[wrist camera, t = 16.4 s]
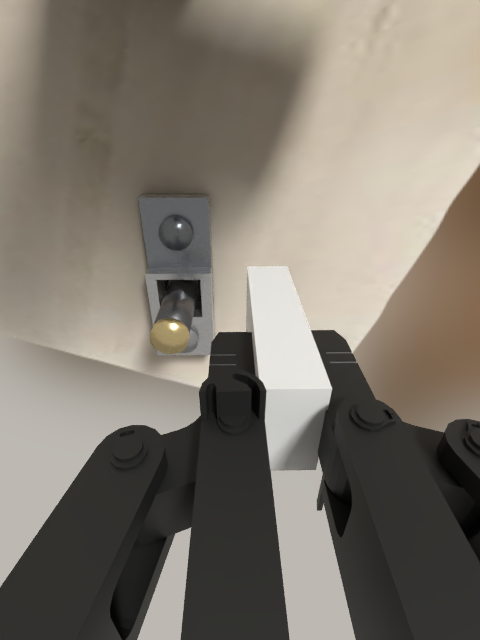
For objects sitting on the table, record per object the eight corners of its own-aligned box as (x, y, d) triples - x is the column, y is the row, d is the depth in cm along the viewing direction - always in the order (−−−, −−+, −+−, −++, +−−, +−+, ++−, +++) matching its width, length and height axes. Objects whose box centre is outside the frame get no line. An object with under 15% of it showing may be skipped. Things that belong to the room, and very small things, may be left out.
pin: (167, 271, 45) (147, 323, 34) (197, 271, 45) (186, 322, 34) (171, 298, 47) (152, 354, 36) (199, 297, 47) (189, 354, 36)
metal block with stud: (141, 194, 40) (131, 203, 36) (209, 194, 40) (206, 203, 36) (162, 339, 51) (156, 359, 47) (215, 338, 51) (213, 358, 47)
